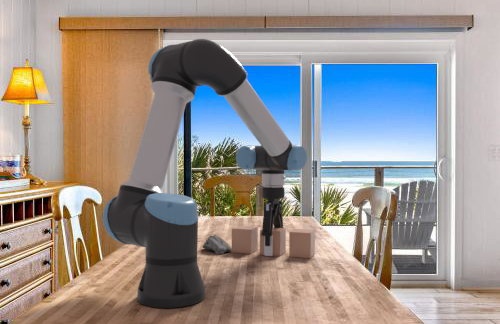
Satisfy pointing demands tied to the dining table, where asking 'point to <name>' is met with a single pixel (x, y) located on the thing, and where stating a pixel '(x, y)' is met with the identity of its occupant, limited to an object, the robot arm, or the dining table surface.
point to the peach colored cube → (244, 239)
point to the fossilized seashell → (217, 245)
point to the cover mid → (275, 241)
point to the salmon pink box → (301, 243)
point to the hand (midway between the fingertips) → (273, 252)
